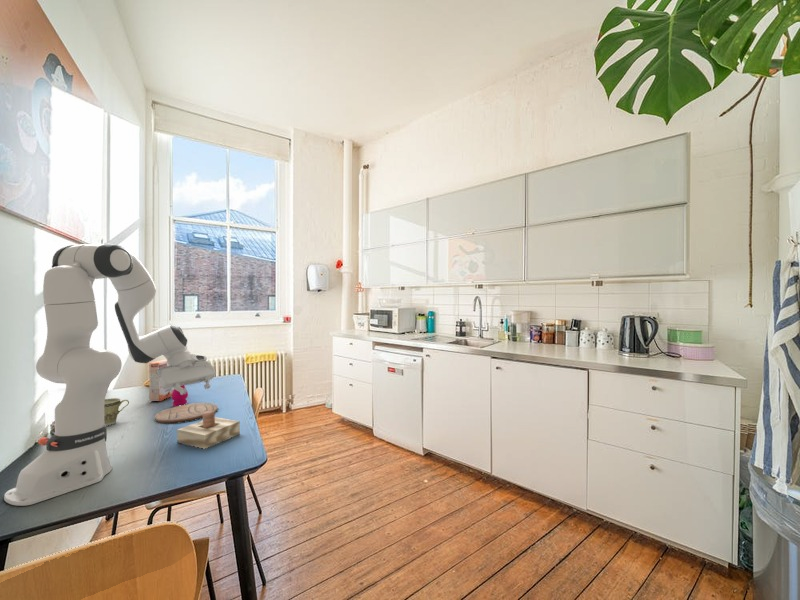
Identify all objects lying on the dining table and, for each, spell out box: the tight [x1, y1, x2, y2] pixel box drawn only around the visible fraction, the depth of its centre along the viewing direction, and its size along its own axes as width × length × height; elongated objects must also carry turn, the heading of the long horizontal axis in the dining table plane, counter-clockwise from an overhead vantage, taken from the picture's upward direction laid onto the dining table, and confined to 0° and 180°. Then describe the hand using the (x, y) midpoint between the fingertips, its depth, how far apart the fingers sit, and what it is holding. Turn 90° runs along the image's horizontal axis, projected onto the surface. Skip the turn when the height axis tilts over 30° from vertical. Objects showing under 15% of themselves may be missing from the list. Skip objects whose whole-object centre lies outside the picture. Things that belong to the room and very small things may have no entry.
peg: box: [202, 411, 216, 429], centre depth 132 cm, size 4×4×10 cm
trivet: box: [154, 402, 219, 424], centre depth 163 cm, size 25×25×2 cm
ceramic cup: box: [104, 397, 130, 427], centre depth 152 cm, size 13×10×10 cm
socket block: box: [176, 416, 241, 450], centre depth 133 cm, size 15×15×5 cm
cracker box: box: [148, 358, 174, 402], centre depth 190 cm, size 14×6×21 cm, turn 179°
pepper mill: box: [170, 385, 189, 407], centre depth 178 cm, size 7×7×20 cm
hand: (196, 390), depth 136 cm, fingers open, 8 cm apart
